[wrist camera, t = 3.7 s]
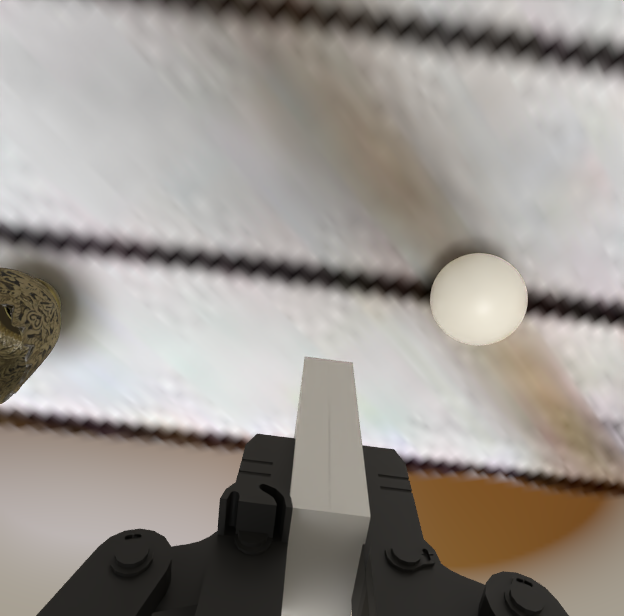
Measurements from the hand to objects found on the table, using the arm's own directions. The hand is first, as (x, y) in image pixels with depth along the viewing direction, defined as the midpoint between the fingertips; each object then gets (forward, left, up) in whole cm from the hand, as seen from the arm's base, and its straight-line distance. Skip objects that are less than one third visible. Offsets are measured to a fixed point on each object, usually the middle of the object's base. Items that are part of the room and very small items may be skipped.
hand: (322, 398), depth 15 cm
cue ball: (+9, 0, -14) cm, 17 cm away
